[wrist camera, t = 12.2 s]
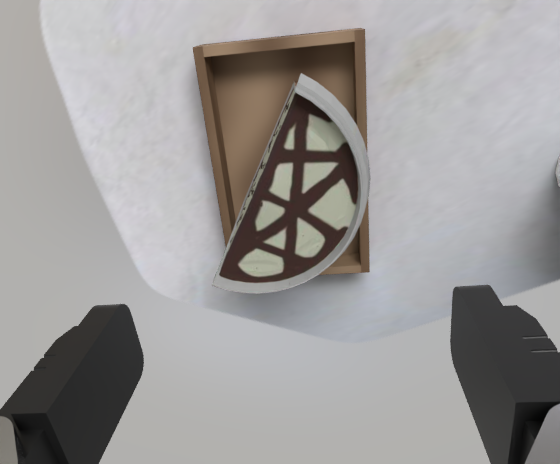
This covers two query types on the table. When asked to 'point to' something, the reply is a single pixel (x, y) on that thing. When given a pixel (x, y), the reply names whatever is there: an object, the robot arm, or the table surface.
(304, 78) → the food container
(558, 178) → the white cup
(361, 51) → the walnut tray
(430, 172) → the table surface
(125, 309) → the robot arm
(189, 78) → the table surface
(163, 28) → the table surface
